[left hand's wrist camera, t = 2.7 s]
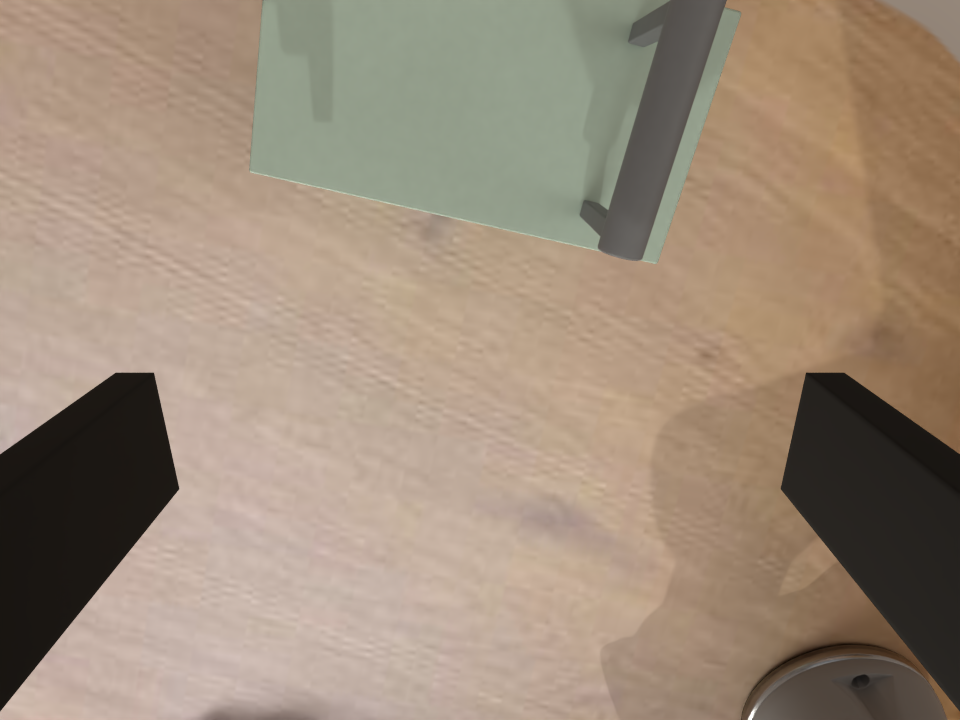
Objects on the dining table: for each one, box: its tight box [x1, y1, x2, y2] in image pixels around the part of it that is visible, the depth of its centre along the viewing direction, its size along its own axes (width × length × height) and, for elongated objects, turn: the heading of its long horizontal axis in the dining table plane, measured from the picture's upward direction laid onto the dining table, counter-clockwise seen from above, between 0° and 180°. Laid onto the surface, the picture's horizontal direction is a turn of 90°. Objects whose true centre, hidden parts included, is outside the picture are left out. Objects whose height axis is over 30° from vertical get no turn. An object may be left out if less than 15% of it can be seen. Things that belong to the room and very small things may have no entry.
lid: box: [249, 0, 741, 264], centre depth 20 cm, size 17×10×8 cm, turn 77°
